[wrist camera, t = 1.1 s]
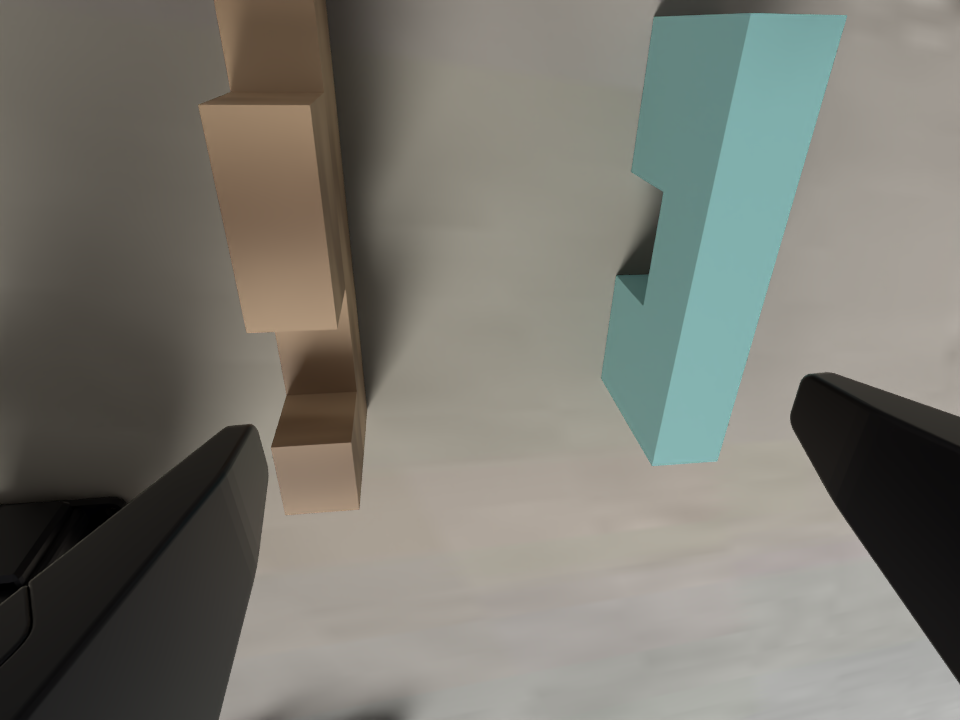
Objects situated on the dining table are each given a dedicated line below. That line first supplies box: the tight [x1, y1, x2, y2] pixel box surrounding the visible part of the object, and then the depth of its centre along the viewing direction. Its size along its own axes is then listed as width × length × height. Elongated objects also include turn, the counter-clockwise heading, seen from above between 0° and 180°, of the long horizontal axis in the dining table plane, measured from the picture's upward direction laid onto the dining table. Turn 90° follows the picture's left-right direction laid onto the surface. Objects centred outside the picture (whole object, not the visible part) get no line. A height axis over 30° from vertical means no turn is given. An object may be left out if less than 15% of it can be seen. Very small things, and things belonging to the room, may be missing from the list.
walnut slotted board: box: [198, 0, 367, 515], centre depth 17 cm, size 20×2×6 cm, turn 179°
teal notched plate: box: [601, 13, 847, 466], centre depth 20 cm, size 14×2×6 cm, turn 179°
